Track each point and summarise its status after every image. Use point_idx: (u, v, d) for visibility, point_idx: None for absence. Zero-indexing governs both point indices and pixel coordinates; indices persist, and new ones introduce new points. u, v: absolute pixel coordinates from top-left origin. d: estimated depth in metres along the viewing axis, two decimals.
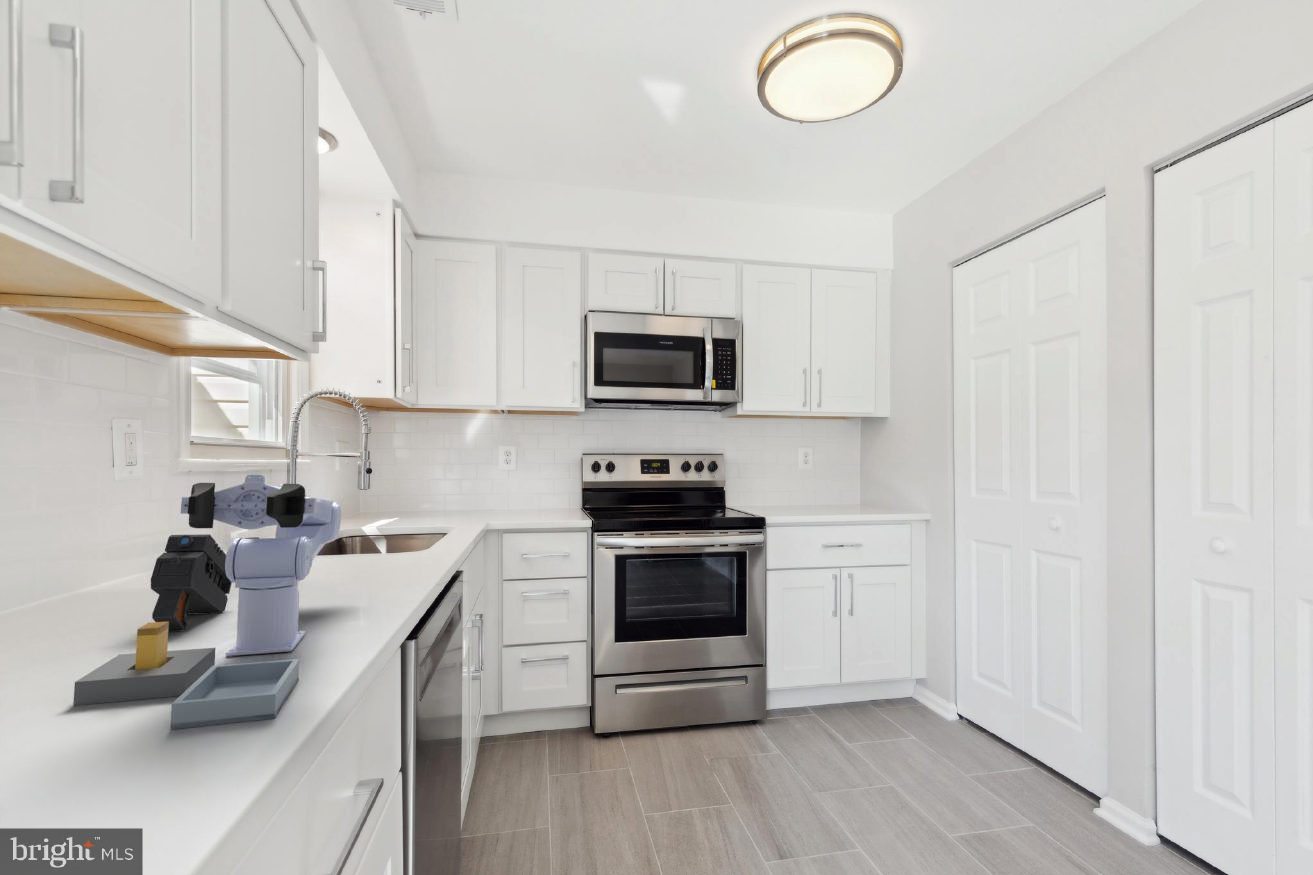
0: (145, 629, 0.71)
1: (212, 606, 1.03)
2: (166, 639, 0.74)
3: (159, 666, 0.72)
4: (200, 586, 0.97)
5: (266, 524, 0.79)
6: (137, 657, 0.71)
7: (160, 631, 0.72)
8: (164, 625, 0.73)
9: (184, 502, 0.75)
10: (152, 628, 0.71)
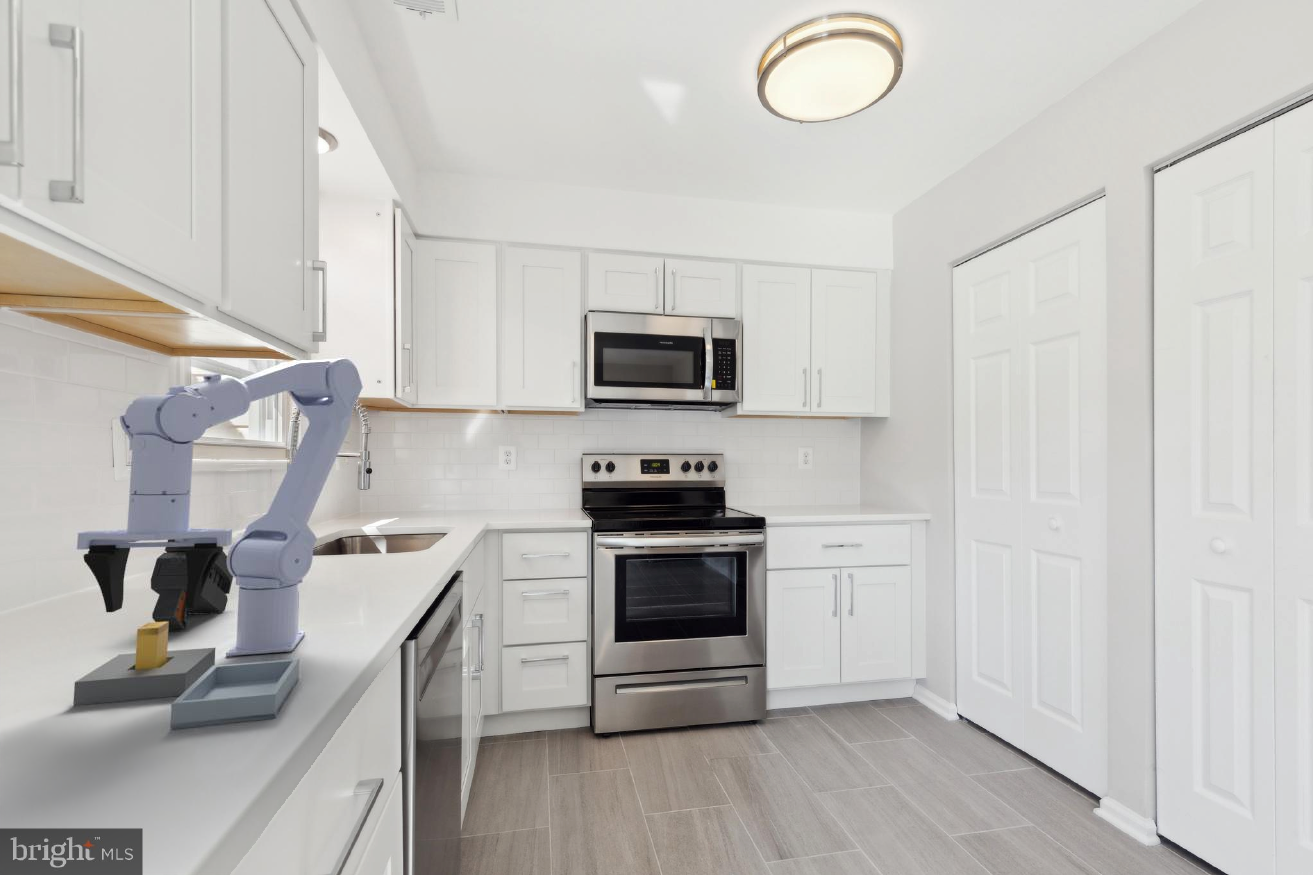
0: (145, 629, 0.71)
1: (212, 606, 1.03)
2: (166, 639, 0.74)
3: (159, 666, 0.72)
4: None
5: None
6: (137, 657, 0.71)
7: (160, 631, 0.72)
8: (164, 625, 0.73)
9: None
10: (152, 628, 0.71)
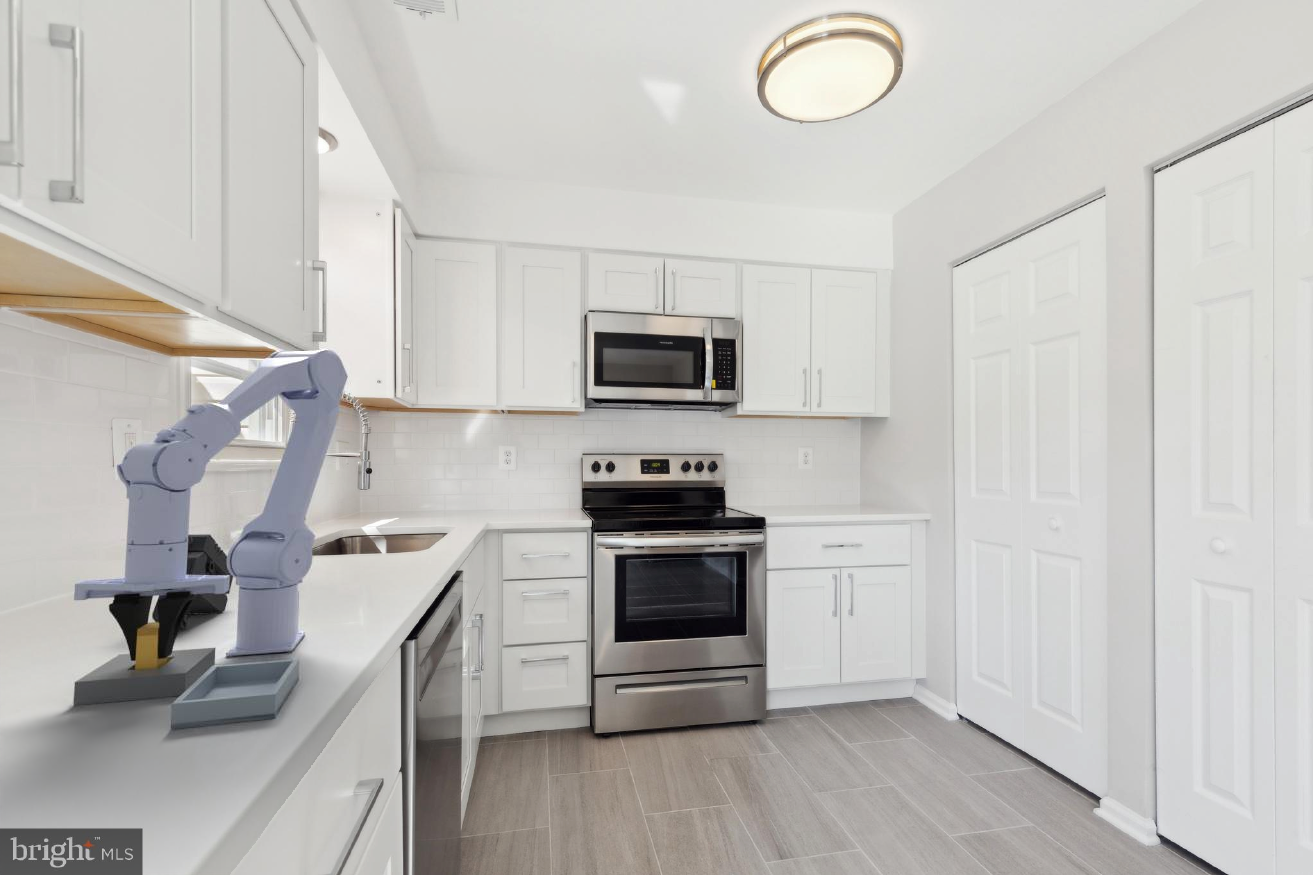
0: (145, 629, 0.71)
1: (212, 606, 1.03)
2: None
3: (159, 666, 0.72)
4: None
5: None
6: (137, 657, 0.71)
7: None
8: None
9: None
10: (152, 628, 0.71)
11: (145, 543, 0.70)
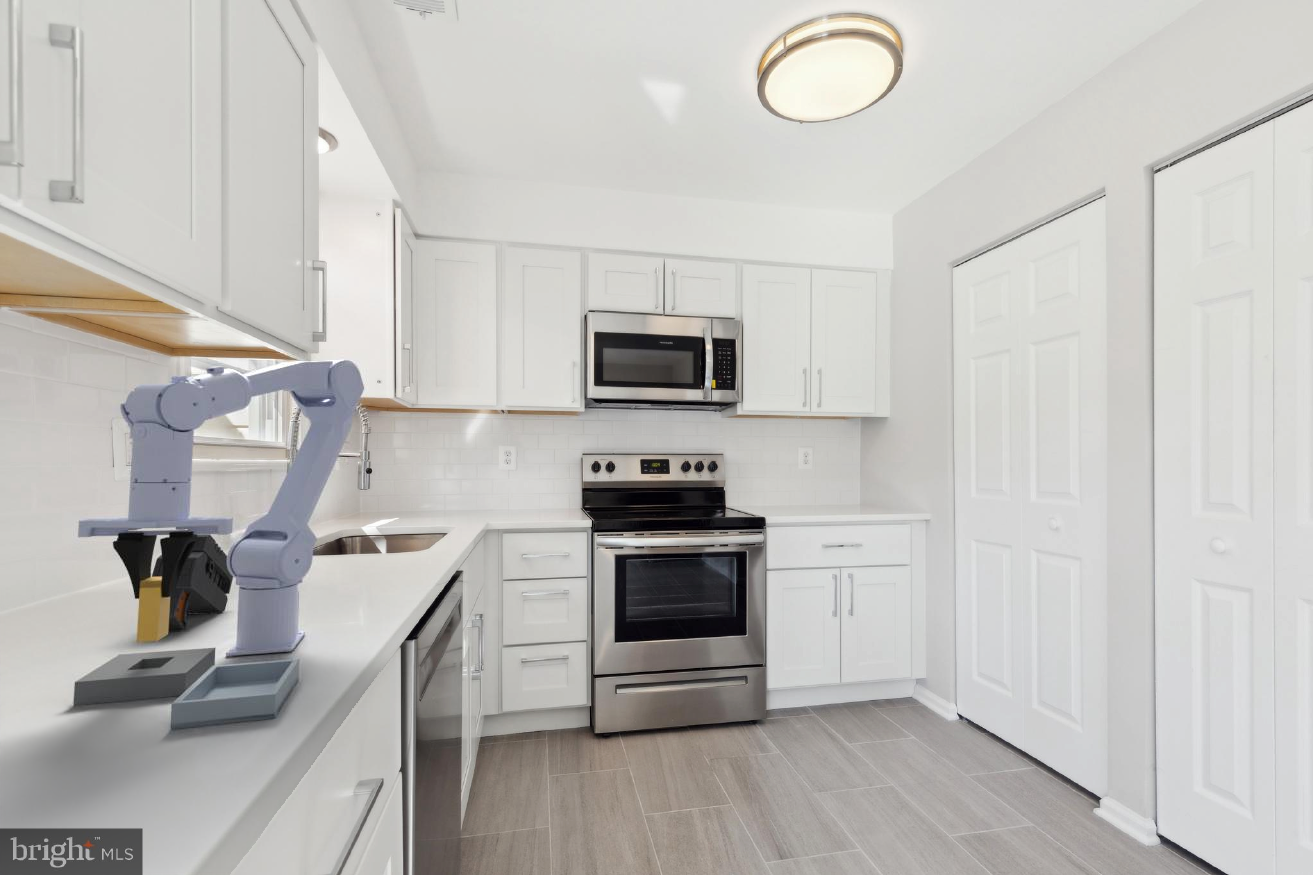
0: (148, 581, 0.71)
1: (212, 606, 1.03)
2: None
3: (162, 619, 0.72)
4: (200, 586, 0.97)
5: None
6: (140, 609, 0.71)
7: None
8: None
9: None
10: (155, 581, 0.72)
11: (149, 481, 0.71)
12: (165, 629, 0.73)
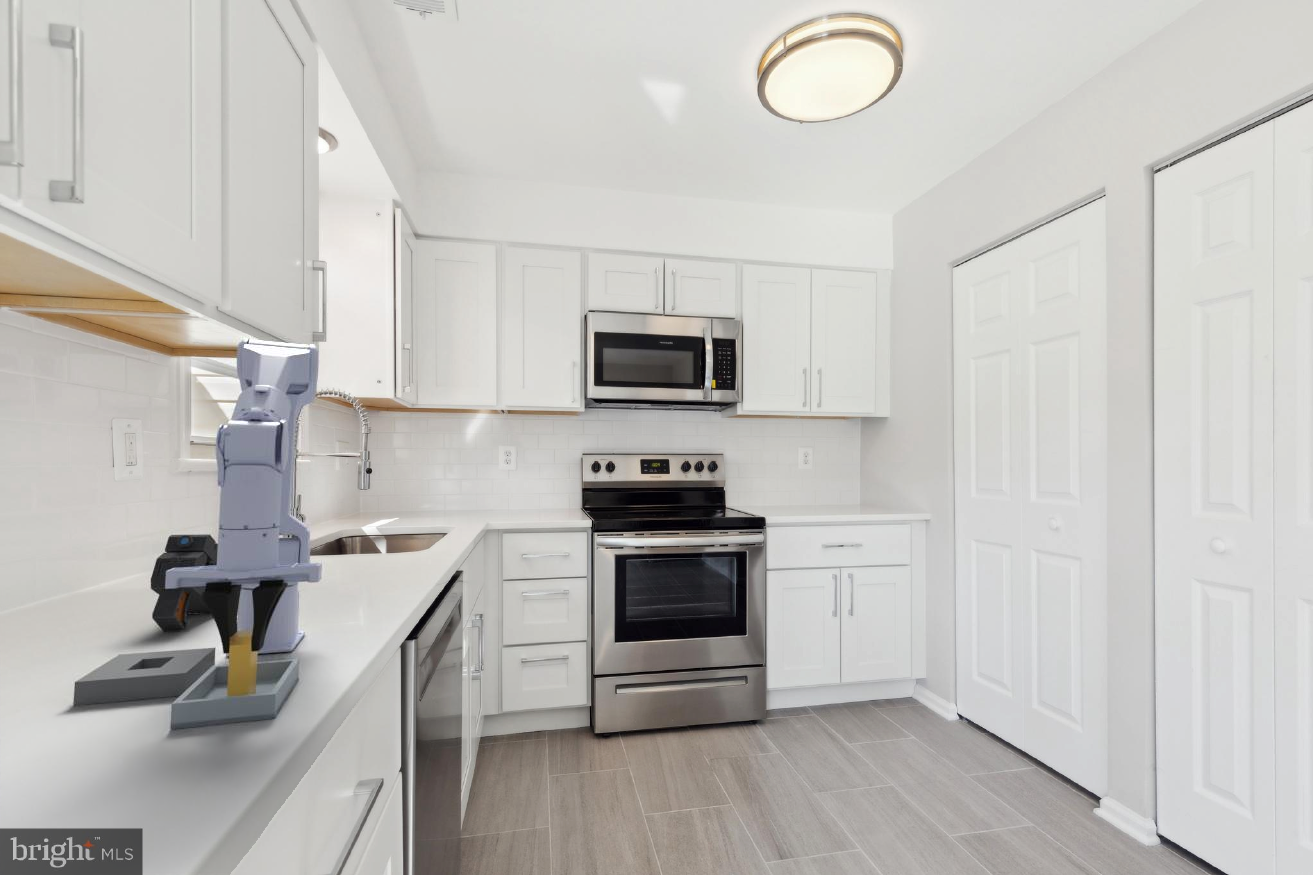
0: (238, 638, 0.67)
1: None
2: None
3: (251, 677, 0.68)
4: (200, 586, 0.97)
5: None
6: (230, 668, 0.66)
7: None
8: None
9: None
10: (245, 637, 0.67)
11: (240, 528, 0.66)
12: (253, 687, 0.69)
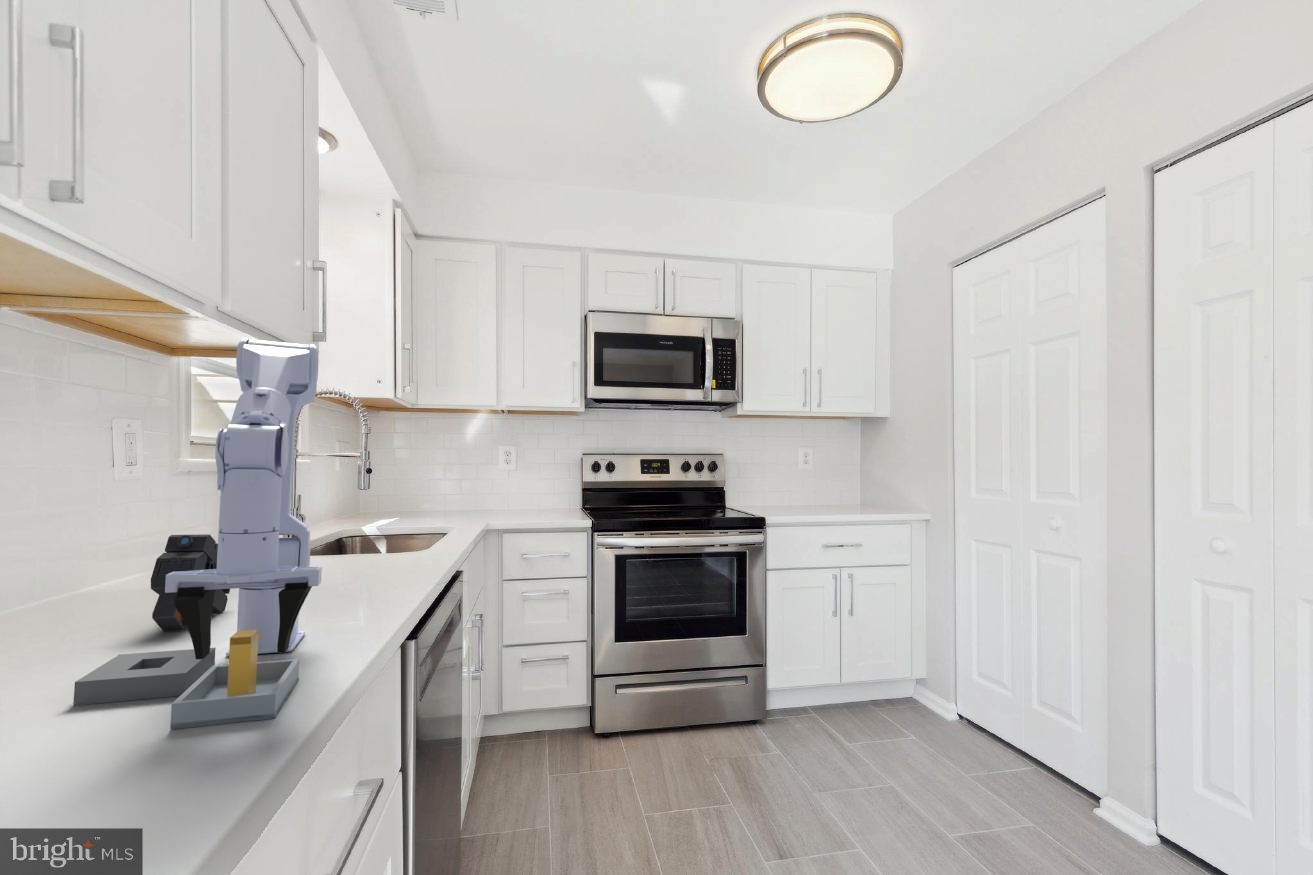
0: (238, 638, 0.67)
1: None
2: (256, 648, 0.69)
3: (251, 677, 0.68)
4: None
5: None
6: (230, 668, 0.66)
7: (253, 639, 0.68)
8: (255, 633, 0.69)
9: None
10: (245, 637, 0.67)
11: (239, 532, 0.66)
12: (253, 687, 0.69)
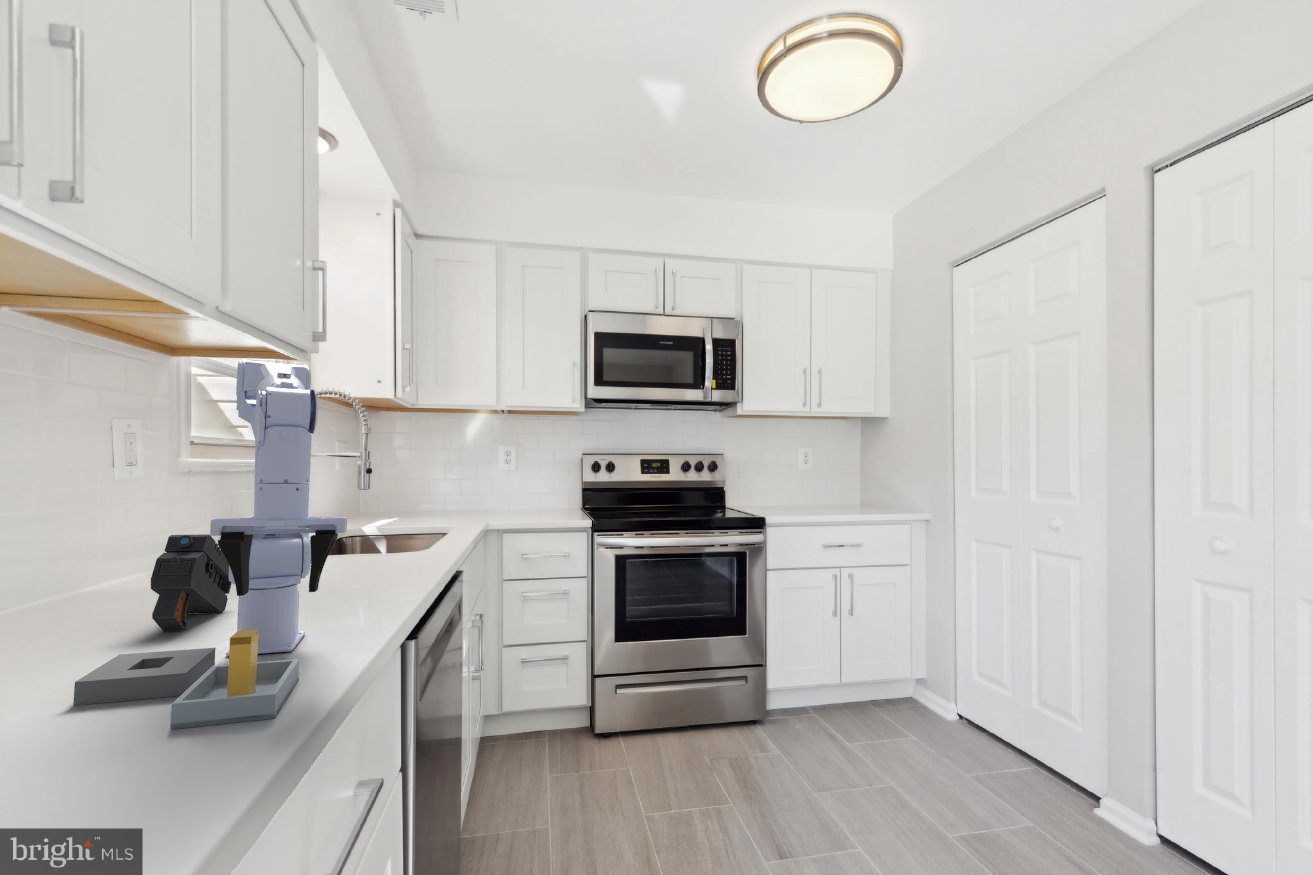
0: (238, 638, 0.67)
1: (212, 606, 1.03)
2: (256, 648, 0.69)
3: (251, 677, 0.68)
4: (200, 586, 0.97)
5: None
6: (230, 668, 0.66)
7: (253, 639, 0.68)
8: (255, 633, 0.69)
9: None
10: (245, 637, 0.67)
11: (276, 482, 0.74)
12: (253, 687, 0.69)
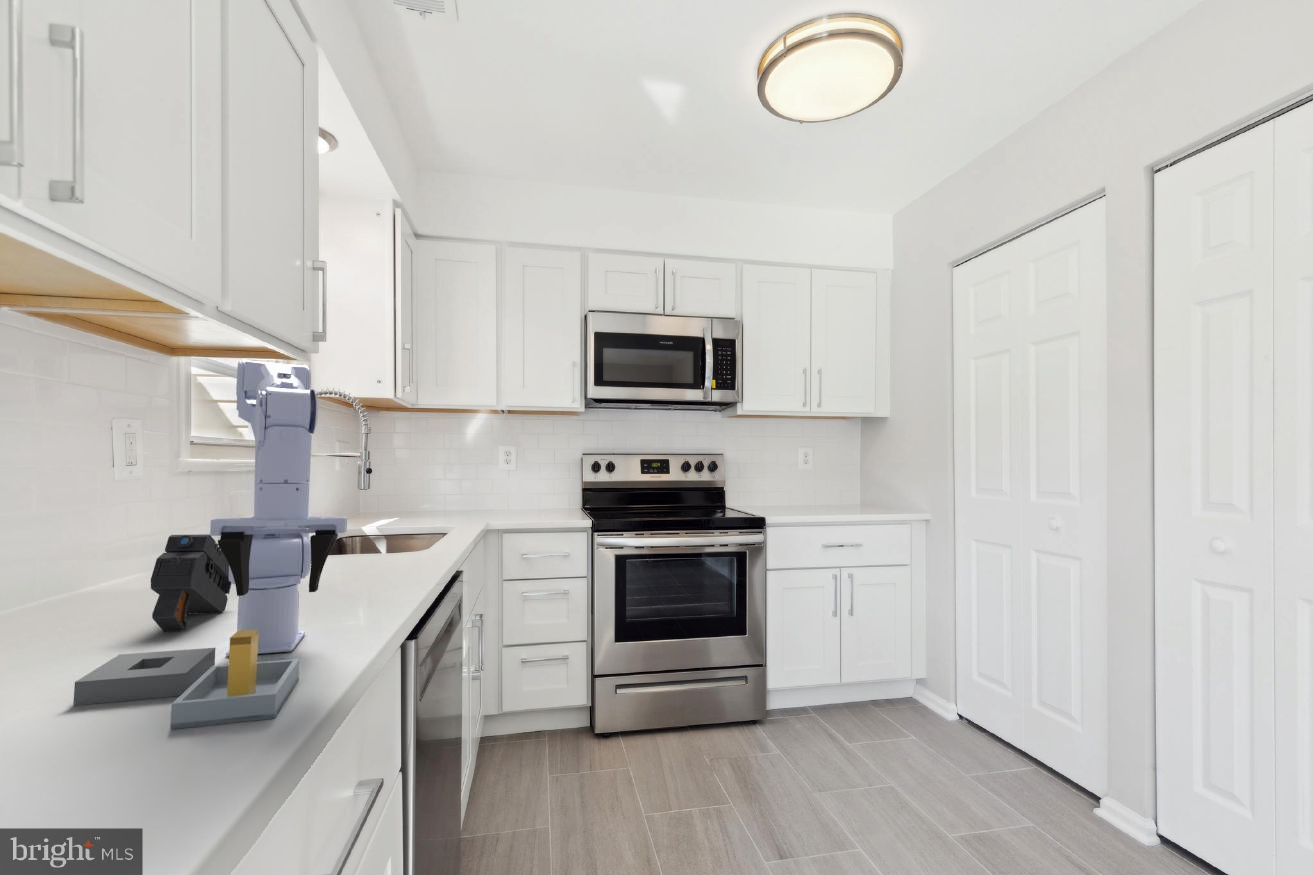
0: (238, 638, 0.67)
1: (212, 606, 1.03)
2: (256, 648, 0.69)
3: (251, 677, 0.68)
4: (200, 586, 0.97)
5: None
6: (230, 668, 0.66)
7: (253, 639, 0.68)
8: (255, 633, 0.69)
9: None
10: (245, 637, 0.67)
11: (276, 482, 0.74)
12: (253, 687, 0.69)
